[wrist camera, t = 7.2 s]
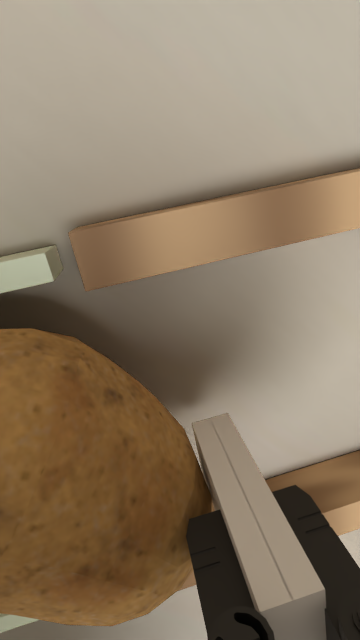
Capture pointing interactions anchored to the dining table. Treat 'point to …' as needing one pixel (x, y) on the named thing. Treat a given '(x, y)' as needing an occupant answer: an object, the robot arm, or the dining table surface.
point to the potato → (89, 486)
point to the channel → (226, 242)
